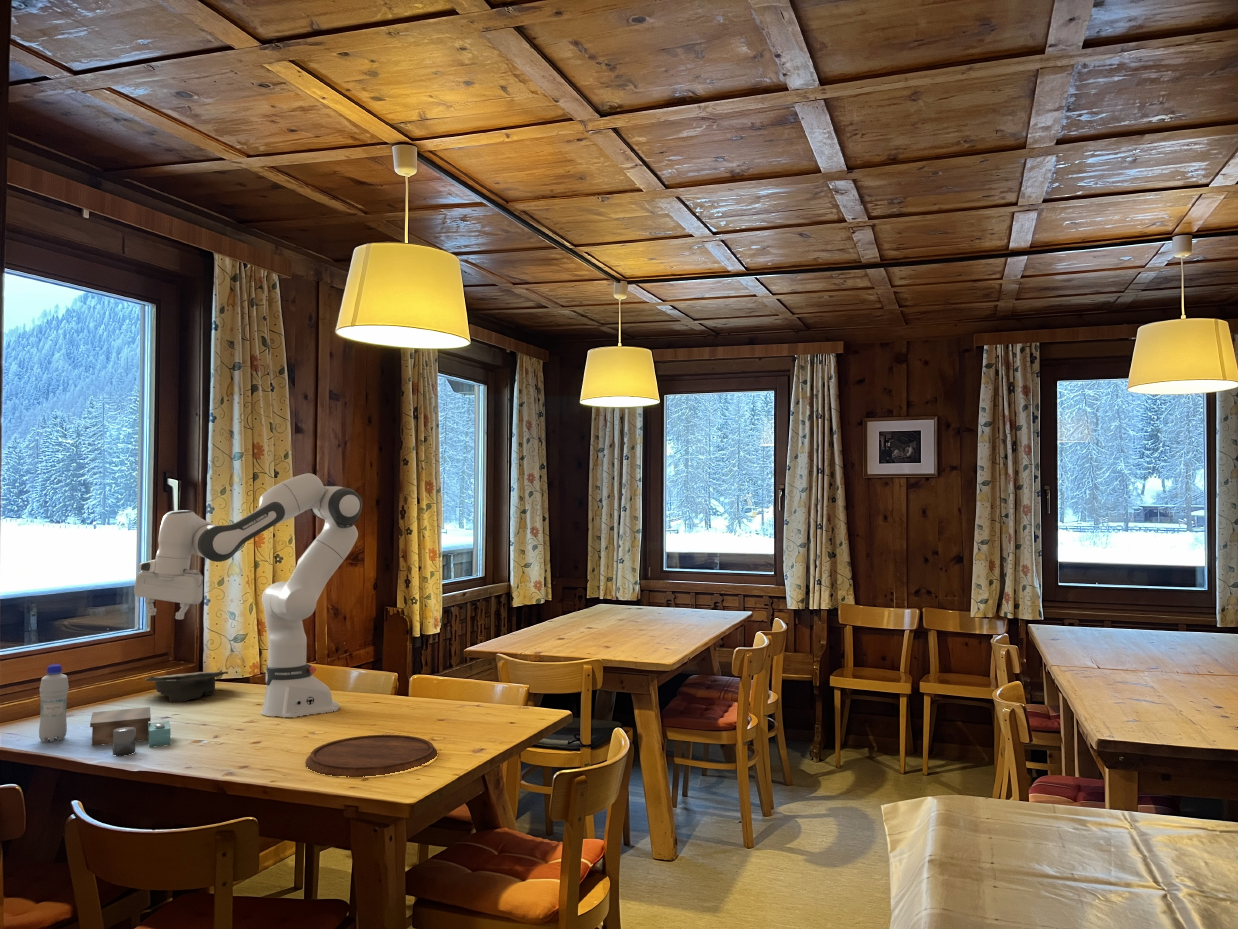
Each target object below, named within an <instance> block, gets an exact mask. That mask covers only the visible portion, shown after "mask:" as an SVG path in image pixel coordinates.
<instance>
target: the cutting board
mask: <svg viewBox="0 0 1238 929" xmlns="http://www.w3.org/2000/svg"><path fill="white" fill-rule="evenodd" d="M437 751H438V749H437V748H436V747H435V746H434V744H433V742H431V741H430V740H427V739H425V738H421V737H417V736H413V735H403V734H369V735H360V736H352V737H346V738H342V739H337V740H334V741H329V742H327V743H324V744H321V745H319V746H317V747H316V748H315V747H314V749H313V750H312V751H311V752H310V754H309V755H308V756H307V758H306V760H305V762H304V763H305V764H306V765H305V764H304V765H305V767H306V768H307V767H308V769H310V770H312V771H315V772H317V773H320V774H325V775H332V776H346V777H348V776H349V777H363V776H364V777H365V776H376V775H385V774H390V773H395V772H400V771H405V770H408V769H411V768H414V767H418V766H421V765H422V764H425V763H427V762H429V761H430V760H432V759H434V758H435V757H436V756H437V754H438V755H439V752H438V753H437ZM308 769H307V770H308ZM310 770H309V771H310ZM312 771H311V772H312ZM317 773H316V774H317ZM320 774H319V775H320Z"/></svg>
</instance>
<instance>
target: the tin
mask: <svg viewBox="0 0 1238 929" xmlns="http://www.w3.org/2000/svg"><path fill="white" fill-rule="evenodd" d="M136 742H137V741H136V728H134V727H124V728H118V729H115V730H114V731H113V744H112V756H113V755H116V756H115V757H125V756H124V755H127V756H130V755H129V754H132V753H134V752H135V753H136ZM135 753H134V754H135ZM132 755H133V754H132Z"/></svg>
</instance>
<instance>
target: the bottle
mask: <svg viewBox="0 0 1238 929" xmlns="http://www.w3.org/2000/svg"><path fill="white" fill-rule="evenodd" d="M62 671H63V667H62V665H61V664H51V665H48V666H47V668H46V675H45V676H43V677H41V680H40V685H39V696H40V718H39V728H38V737H39V739H40V741H42V742H43V743H47V742H48V740H49V741H50V743H53V742H54V741H55V738H56V741H57V740H60V741H61V740H64V739H65V738H66V736H67V729H68V727H67V725H68V724H67V708H68V707H67V701H68V700H67V699H68V694H69V688H70V687H69V679H68V675H66V674H63V673H62ZM46 741H47V742H46Z"/></svg>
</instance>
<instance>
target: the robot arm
mask: <svg viewBox="0 0 1238 929" xmlns="http://www.w3.org/2000/svg"><path fill="white" fill-rule="evenodd" d="M308 510H309V511H310V513H311V514H312V515H313V516H315V517H316V518H318V519H320V520H324V525H323V527H322V530H321V532H320V533H319V534H318V535H317V536H316V538H315V539H314V540H313V541H312V543H310V545H309V546H308V547H307V548H306V550H305V551H304V552H303V554H302V555H301V556H300V557H299V558H298V560H297V564H296V566H295V568H294V570H293V572H292V574H291V576H290V578H289V579H288V580H287V581H277V582H274V583H272V584H270V585H268V586H267V587H266V588H265V589H264V590H263V592H262V595H261V603H262V606H263V609H264V611H263V612H264V620H265V627H266V633H267V634H266V635H267V665H266V667H265V685H266V688H265V696H264V700H263V706H262V709H261V711H260V713H261V715H263V716H266V717H267V716H268V717H275V716H280V717H279V718H285V717H293V718H298V717H297V716H300V717H304V716H303V715H307V716H310V715H309V714H314V715H317V714H316V713H321V714H327V713H334V712H337V711H339V710H340V704H339V703H338V701H335V700H333V697H332V691H331V689H330V687H329V686H328V685H327V684H325V683H324V682H323V681H321V680H320V679H318V678H317V677H315V676H314V675H313V674H315V673H316V672H317V671H318V669H317V667H316V666H315V665H311V664H309V663H307V642H308V639H307V635H306V632H305V629H304V623H303V620H305V619H308V618H309V617H310V616H312V615H313V613H314V612H315V611H316V607H317V602H318V600H319V599H320V596H321V594H322V592H323V590H324V589H325V586H327V585H326V584H327V583H328V582H329V580H330V579H331V578H332V576H333V575H334V573H335V572H336V571H337V570H338V568H339V567H340V566H341V564H342V563H343V562H344V560H346V558H347V557H348V555H349V554H350V552H351V551H352V550H353V547H354V546H355V544H356V542H357V539H358V537H359V532H358V529H357V527H356V526H355V525H356V524H357V523H358V522H359V517H360V515H361V513H362V510H363V499H362V497H361V495H360V494H359V493H358V492H356V491H355V490H353V489H352V488H348V487H344V486H343V487H342V486H338V485H337V486H336V485H335V486H334V485H333V486H327V485H324V484H323V482H322V480H321V479H320V478H319V477H318V476H317V475H315V474H313V473H309V472H308V473H307V472H306V473H304V474H300V475H297V476H293V477H291V478H289V479H286V480H283V481H281V482H279V483H277V484H275V485H273V486H272V487H270V488H269V489H268V490H266V491H265V492H264V493H262V494H261V495H260V497H259V501H258V508H257V509H255V510H254V511H253V512H251V513H249V514H247V515H245V516H244V517H242V518H240V519H239V520H237V521H235V522H233V523H230V524H226V525H225V524H224V525H221V524H220V525H217V524H213V523H211V522H209V521H207V520H205V519H203V518H202V517H200V516H199V515H197V513H195V512H194V510H187V509H185V510H184V509H183V510H182V509H179V510H177V509H176V510H171V511H168V512H167V513H165V514H164V515H163V517H162V520H161V524H160V526H159V531H158V532H159V533H158V538H157V541H158V548H157V552H156V554H155V559H152V560H149V561H148V560H147V561H145V562H141V563H139V564H138V567H137V568H138V570H139V572H138V573H137V575H136V578H135V582H134V589H133V592H134V595H135V597H136V598H137V597H138V598H144V603H145V606H146V610H147V611H146V615H148V616H156V614H157V608H155V605H154V602H155V600H156V601H157V600H159V601H165V602H172V603H179V607H180V609H179V611H177V612H175V616H174V618H175V620H184V619H185V614H186V612H187V611H188V609H189V608H190V606H191V605H199V604H200V603H201V602H202V601H203V595H204V594H203V593H204V592H203V590H204V589H203V588H204V586H203V582H204V580H203V579H204V576H203V575H202V573H201V572H200V571H199V570H192V569H190V565H191V560H192V559H191V558H192V555H197V556H199V557H202V558H205V559H207V560H209V561H211V562H213V563H214V562H216V563H220V562H221V563H222V562H226V561H228V560H229V559H232V558H233V557H234V555H235V554H237V553H238V551H239V550H240V548H242V546H243V545H244V544H246V543H247V542H249V541H250V540H252V539H253V538H255V537H257V536H259V535H261V534H262V533H263V532H265V531H267V530H268V529H270V528H272V527H274V526H277V525H278V524H281V523H284V522H286V521H288V520H291V519H293V518H296V516H298V515H300V514H302V513H304V512H306V511H308ZM338 709H339V710H338ZM333 711H334V712H333ZM326 712H327V713H326ZM281 716H282V717H281Z"/></svg>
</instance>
